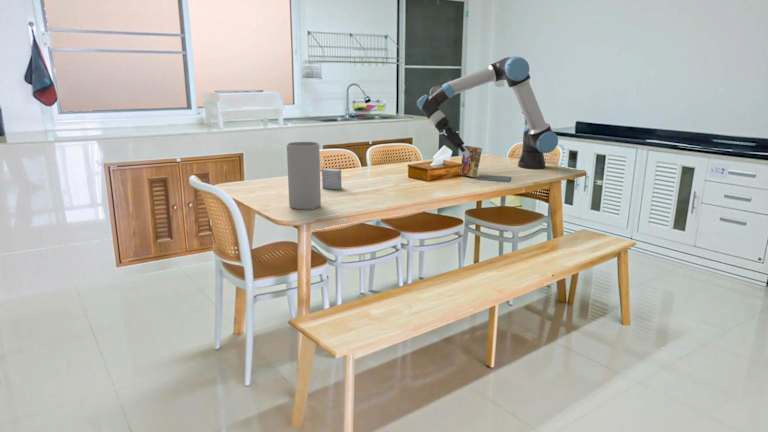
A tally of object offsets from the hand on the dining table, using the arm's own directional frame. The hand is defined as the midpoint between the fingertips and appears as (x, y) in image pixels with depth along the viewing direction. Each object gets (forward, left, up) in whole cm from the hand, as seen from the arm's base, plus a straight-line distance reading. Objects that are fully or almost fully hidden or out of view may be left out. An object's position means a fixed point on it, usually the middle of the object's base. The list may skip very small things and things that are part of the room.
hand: (468, 155), depth 266 cm
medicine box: (+55, +48, -11) cm, 74 cm away
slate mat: (-13, -1, -11) cm, 17 cm away
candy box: (0, -1, -11) cm, 11 cm away
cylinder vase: (+52, +82, -11) cm, 98 cm away
